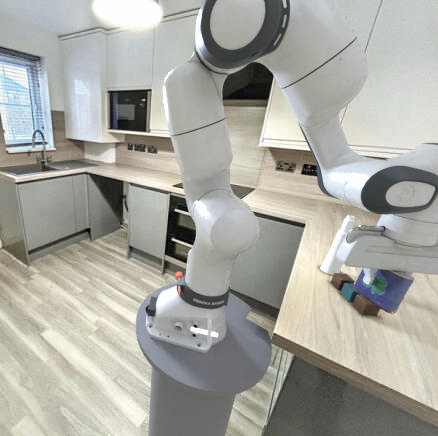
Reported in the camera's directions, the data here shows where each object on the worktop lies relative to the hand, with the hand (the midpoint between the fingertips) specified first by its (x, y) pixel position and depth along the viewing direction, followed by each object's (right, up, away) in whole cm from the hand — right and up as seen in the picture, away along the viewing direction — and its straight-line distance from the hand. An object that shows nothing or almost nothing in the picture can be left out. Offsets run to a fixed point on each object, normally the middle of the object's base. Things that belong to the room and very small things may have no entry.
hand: (379, 284), depth 52 cm
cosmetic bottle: (+16, -5, +35) cm, 39 cm away
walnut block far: (+13, -8, +27) cm, 31 cm away
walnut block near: (+12, -12, +17) cm, 24 cm away
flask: (0, -4, +2) cm, 4 cm away
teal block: (+13, -10, +22) cm, 27 cm away
